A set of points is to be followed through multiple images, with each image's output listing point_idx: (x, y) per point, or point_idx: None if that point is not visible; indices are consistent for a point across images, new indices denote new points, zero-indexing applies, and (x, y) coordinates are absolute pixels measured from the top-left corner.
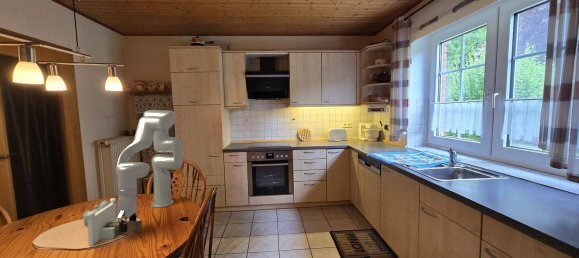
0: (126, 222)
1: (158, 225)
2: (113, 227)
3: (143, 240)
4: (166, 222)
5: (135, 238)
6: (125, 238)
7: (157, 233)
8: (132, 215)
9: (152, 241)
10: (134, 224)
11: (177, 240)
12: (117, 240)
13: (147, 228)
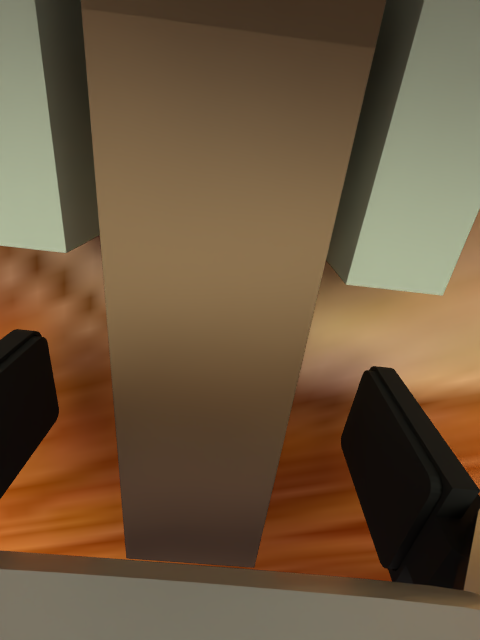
0: (231, 414)
1: (329, 530)
2: (41, 223)
3: (35, 490)
4: (373, 564)
5: (74, 431)
6: (77, 349)
7: None
8: (416, 535)
9: (21, 537)
10: (125, 523)
11: None
12: (25, 281)
13: (290, 473)
